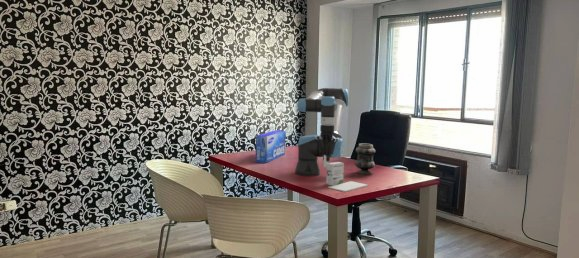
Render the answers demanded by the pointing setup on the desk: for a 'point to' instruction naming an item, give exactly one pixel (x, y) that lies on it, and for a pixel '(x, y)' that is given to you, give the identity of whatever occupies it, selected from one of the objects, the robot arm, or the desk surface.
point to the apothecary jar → (365, 158)
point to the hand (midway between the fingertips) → (326, 166)
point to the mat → (347, 186)
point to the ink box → (335, 173)
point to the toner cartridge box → (270, 146)
